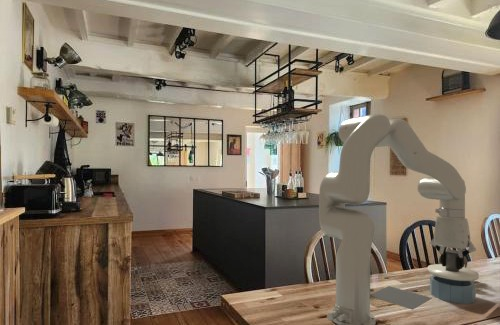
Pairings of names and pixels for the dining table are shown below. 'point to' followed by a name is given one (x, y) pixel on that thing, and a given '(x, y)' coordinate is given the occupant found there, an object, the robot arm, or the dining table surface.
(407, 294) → the mat
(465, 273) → the lid
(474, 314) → the dining table surface
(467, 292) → the bowl
